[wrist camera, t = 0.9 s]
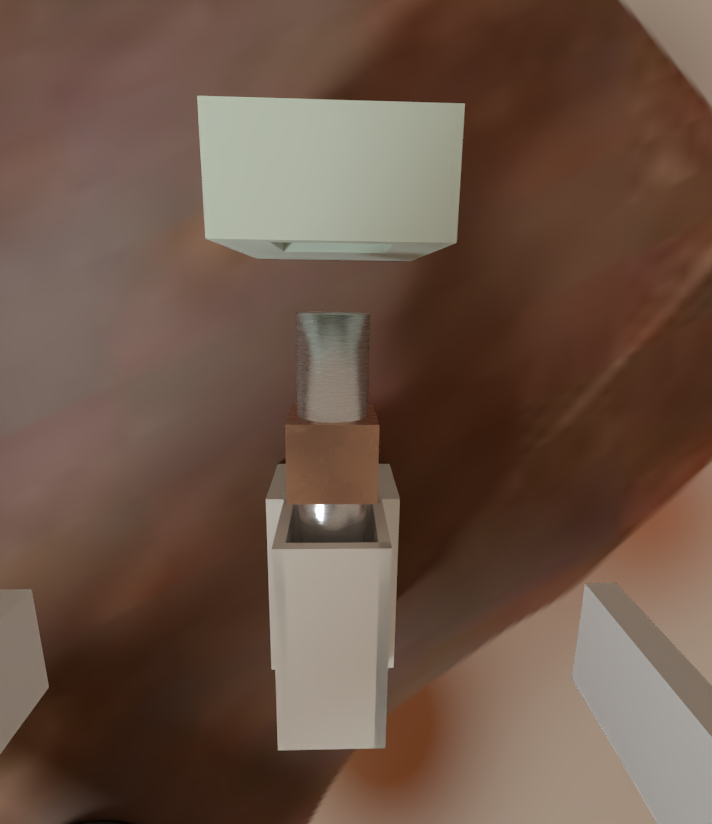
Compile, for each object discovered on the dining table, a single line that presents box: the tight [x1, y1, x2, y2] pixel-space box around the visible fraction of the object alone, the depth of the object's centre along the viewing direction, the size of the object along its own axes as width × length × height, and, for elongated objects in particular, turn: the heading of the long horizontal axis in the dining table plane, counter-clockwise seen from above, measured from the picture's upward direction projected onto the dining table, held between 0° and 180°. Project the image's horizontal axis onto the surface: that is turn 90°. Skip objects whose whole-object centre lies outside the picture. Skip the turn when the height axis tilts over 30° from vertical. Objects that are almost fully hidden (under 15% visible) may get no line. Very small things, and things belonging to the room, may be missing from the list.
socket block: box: [197, 96, 465, 261], centre depth 25 cm, size 5×10×13 cm, turn 89°
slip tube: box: [285, 312, 379, 543], centre depth 26 cm, size 19×4×4 cm, turn 179°
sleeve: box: [266, 464, 400, 750], centre depth 31 cm, size 12×8×12 cm, turn 179°
